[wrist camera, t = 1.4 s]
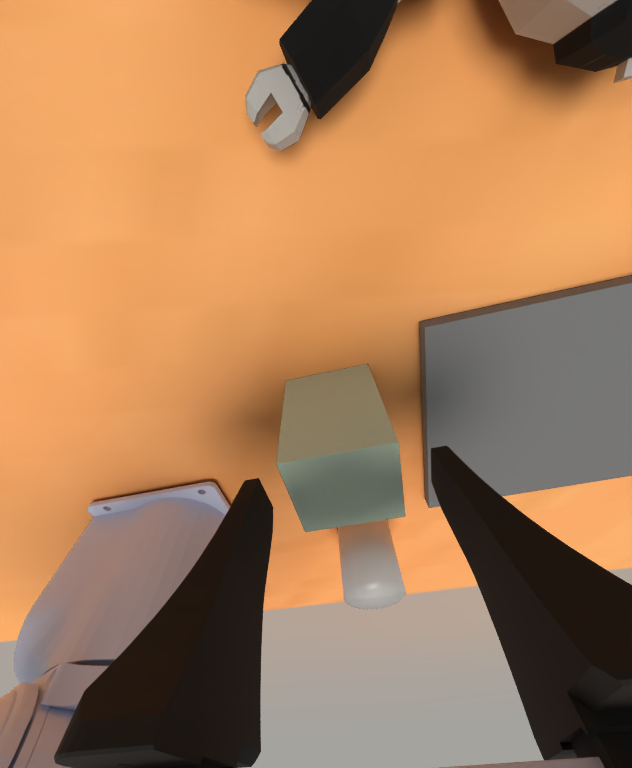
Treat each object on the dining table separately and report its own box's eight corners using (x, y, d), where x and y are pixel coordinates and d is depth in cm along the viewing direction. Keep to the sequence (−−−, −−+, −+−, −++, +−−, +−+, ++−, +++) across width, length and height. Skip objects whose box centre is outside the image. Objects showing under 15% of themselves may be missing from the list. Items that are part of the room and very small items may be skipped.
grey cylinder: (341, 540, 24) (349, 612, 20) (332, 512, 22) (339, 585, 18) (389, 533, 24) (407, 604, 19) (384, 504, 22) (403, 576, 17)
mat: (424, 498, 21) (428, 507, 21) (419, 321, 14) (424, 327, 13) (626, 465, 20) (638, 474, 19) (736, 252, 13) (760, 254, 12)
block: (305, 439, 18) (305, 532, 13) (286, 380, 16) (276, 464, 11) (376, 426, 18) (405, 516, 12) (367, 363, 15) (398, 442, 10)
